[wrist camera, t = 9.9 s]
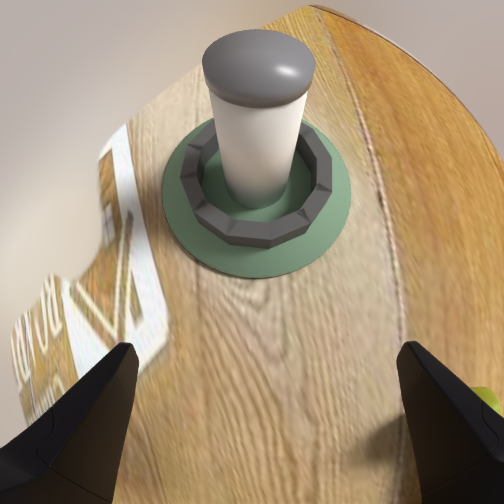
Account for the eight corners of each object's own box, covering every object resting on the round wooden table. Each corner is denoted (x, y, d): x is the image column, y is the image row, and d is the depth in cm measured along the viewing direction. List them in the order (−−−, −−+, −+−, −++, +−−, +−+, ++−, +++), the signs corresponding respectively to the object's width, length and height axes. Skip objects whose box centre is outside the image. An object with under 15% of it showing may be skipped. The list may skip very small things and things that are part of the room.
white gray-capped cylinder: (258, 222, 23) (264, 111, 10) (211, 183, 24) (179, 62, 11) (300, 179, 24) (336, 59, 11) (253, 144, 25) (254, 20, 12)
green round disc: (203, 311, 22) (196, 309, 19) (144, 148, 25) (134, 131, 23) (381, 230, 23) (396, 218, 21) (295, 94, 27) (299, 75, 24)
